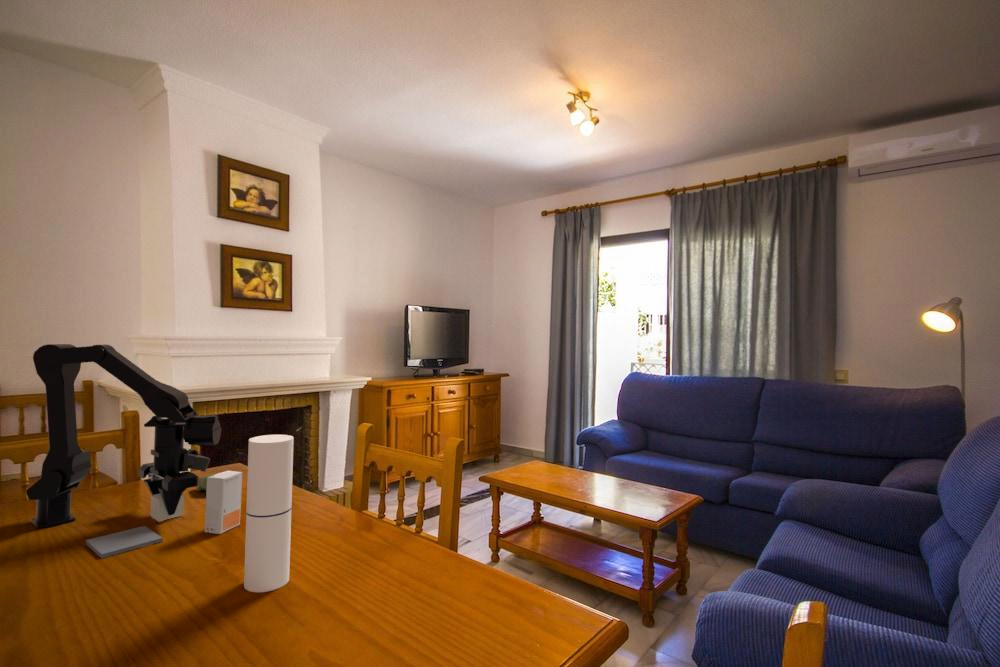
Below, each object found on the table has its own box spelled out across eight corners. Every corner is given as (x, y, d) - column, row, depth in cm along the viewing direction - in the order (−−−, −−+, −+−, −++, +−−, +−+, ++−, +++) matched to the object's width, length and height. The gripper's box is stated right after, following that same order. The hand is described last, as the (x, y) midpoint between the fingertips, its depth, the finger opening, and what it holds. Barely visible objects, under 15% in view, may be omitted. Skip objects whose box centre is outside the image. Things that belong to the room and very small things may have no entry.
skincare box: (220, 534, 105) (222, 478, 105) (203, 532, 106) (205, 477, 106) (241, 524, 111) (243, 471, 111) (224, 522, 112) (226, 470, 112)
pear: (211, 475, 129) (189, 476, 134) (213, 496, 129) (190, 496, 133) (231, 470, 134) (209, 471, 138) (233, 490, 134) (210, 490, 138)
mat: (85, 544, 99) (86, 540, 99) (144, 529, 107) (144, 525, 107) (101, 558, 93) (101, 554, 93) (162, 541, 101) (162, 537, 101)
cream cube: (150, 516, 114) (150, 495, 114) (174, 511, 118) (175, 490, 118) (158, 522, 111) (159, 500, 111) (183, 516, 115) (183, 494, 115)
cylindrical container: (244, 596, 81) (248, 444, 81) (244, 576, 87) (248, 436, 88) (290, 586, 84) (295, 441, 85) (287, 569, 91) (291, 433, 91)
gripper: (223, 445, 116) (221, 512, 116) (190, 434, 127) (188, 495, 127) (170, 453, 107) (167, 525, 107) (138, 441, 118) (136, 506, 118)
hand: (166, 512), depth 115 cm, fingers closed on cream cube, 5 cm apart
